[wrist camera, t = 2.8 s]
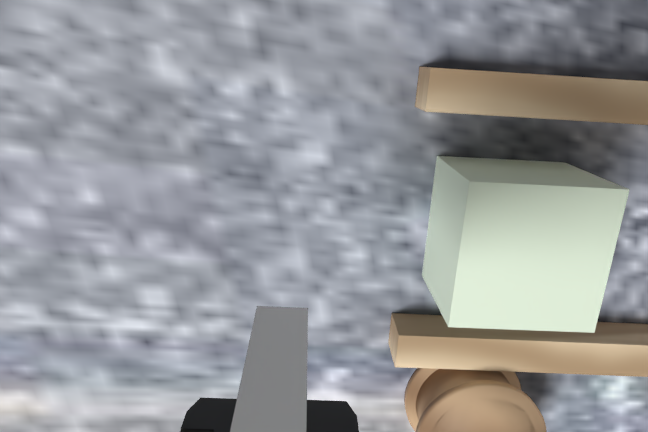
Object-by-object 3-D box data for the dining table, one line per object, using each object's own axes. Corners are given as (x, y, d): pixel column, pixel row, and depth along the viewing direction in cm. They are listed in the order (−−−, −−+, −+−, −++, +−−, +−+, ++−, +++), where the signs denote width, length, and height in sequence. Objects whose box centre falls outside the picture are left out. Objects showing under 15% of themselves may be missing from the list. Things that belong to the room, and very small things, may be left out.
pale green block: (436, 155, 27) (469, 181, 22) (563, 162, 28) (629, 189, 22) (421, 274, 29) (448, 327, 24) (539, 279, 30) (594, 332, 24)
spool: (410, 344, 31) (425, 385, 27) (527, 348, 31) (557, 389, 27) (398, 441, 33) (410, 492, 29) (507, 444, 33) (533, 494, 29)
